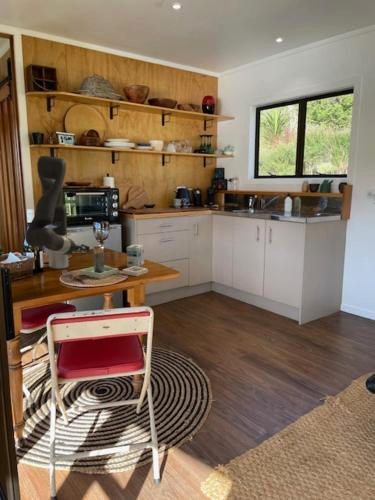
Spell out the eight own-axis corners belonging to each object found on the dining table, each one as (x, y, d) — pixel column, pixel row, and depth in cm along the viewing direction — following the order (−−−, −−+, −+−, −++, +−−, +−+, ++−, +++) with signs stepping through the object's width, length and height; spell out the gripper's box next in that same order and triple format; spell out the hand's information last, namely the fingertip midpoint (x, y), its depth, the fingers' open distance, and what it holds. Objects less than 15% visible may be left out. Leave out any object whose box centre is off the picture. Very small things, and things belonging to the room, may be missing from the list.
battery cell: (92, 272, 186) (91, 245, 183) (99, 271, 190) (98, 244, 188) (99, 274, 183) (98, 246, 181) (106, 272, 188) (105, 245, 185)
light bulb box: (138, 267, 202) (138, 247, 200) (126, 266, 203) (126, 247, 201) (144, 263, 212) (144, 244, 210) (133, 262, 214) (133, 243, 212)
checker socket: (122, 273, 189) (122, 269, 189) (134, 270, 197) (133, 266, 196) (136, 276, 185) (136, 272, 184) (147, 272, 192) (147, 268, 192)
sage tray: (80, 275, 185) (80, 270, 184) (99, 269, 196) (99, 265, 195) (99, 279, 178) (99, 273, 178) (118, 273, 189) (118, 268, 189)
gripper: (77, 236, 161) (94, 243, 177) (47, 236, 164) (66, 244, 179) (76, 253, 160) (93, 259, 175) (46, 253, 162) (65, 259, 178)
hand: (79, 251), depth 177 cm, fingers open, 8 cm apart
